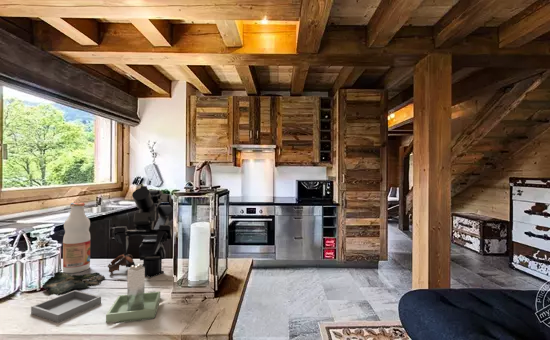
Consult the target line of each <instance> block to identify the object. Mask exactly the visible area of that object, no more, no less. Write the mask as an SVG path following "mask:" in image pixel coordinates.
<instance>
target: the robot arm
mask: <svg viewBox="0 0 550 340" xmlns="http://www.w3.org/2000/svg"><path fill="white" fill-rule="evenodd" d="M132 199H133V200H134V201H133V202H134V204H135V205H136V208H137V209H139V211H138V212H134V216H133V223H134V224H133V228H135V229H128V227H127V226H115V227H114V228H113V230H112V236H113V239H114V240H115V242H117V243H119V244H122V245H121V246H122V252H123V255H124V256H126V255H128V248H129V237H136V236H139V237H140V236H141V237H144V238H143V240H142V241H141V243H140V245H139V247H138V255H139V256H138V257H139V261H142V264H141V265H142V266H144V267H145V277H147V278H153V277H156V276H158V275H162V274H163V273H165V271H164V270H163V269H162V267H163V265H162V261H163V260H164V259H166V250H165V246H164V245H163V244H164V243H165V242H167V241H168V240H171V239H172V235H173V234H172V233H173V231H172V230H173V229H172V226H171V225H170V224H169V222H171V221H172V220H174V219H173V200H174V199H173V198H172V195H171V194H169V193H163V191H162V190H161V189H148V187H147V185H142V186H140V188H137V189H135V190H134V191H133V192H132ZM163 203H165V204H166V205H165V204H164V205H163ZM167 203H168V204H167ZM156 205H157V206H156ZM157 216H158V218H157ZM155 222H156V223H155Z"/></svg>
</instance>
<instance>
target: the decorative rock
mask: <svg viewBox="0 0 550 340" xmlns="http://www.w3.org/2000/svg"><path fill="white" fill-rule="evenodd" d="M53 275H54V276H51V277H49V278H48V279H47V280H46V281H45V283H44V284H42V285H41V286H42V288H43V289H44V290H46V289H47V291H48V293H49V296H52V295H55V296H61V295H62V293H68V292H70V291H71V290H72V289H73V290H76V289H90V288H91V287H96V286H98V285H101V284H102V280H104V279H106V277H105V275H102V274H100V272H94V273H93V272H92V273H85V274H80V275H79V274H77V275H76V274H70V273H65V272H62V271H55V272H54V273H53ZM87 279H88V280H87Z"/></svg>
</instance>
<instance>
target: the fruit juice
mask: <svg viewBox="0 0 550 340" xmlns="http://www.w3.org/2000/svg"><path fill="white" fill-rule="evenodd" d="M70 208H71V209H70V213H69V216H68V217H67V218H66V220H65V221H64V223H63V229H64V235H63V239H62V271H63V273H66V274H74V273H76V274H77V273H81V272H83V271H84V272H85V271H87V270H88V269H90V267H91V232H90V227H91V220H90V218H88V216H87V214H86V213H85V210H84V209H85V202H71V203H70Z"/></svg>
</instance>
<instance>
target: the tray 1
mask: <svg viewBox="0 0 550 340" xmlns="http://www.w3.org/2000/svg"><path fill="white" fill-rule="evenodd" d="M100 304H102V296H101V295H97V294H94V293H93V294H92V293H89V292H84V291H82V290H81V291H80V290H77V289H73V290H72V291H71V290H70V291H68V292H65V293H63V294H60V295H57V296H56V297H53V298H51V299H48V300H45V301H42V302H40V303H37V304H34V305H31V306H30V314H31V315H33V316H37V317H40V318H43V319H46V320H49V321H52V322H54V323H58V324H59V323H60V322H62V321H65V320H68V319H69V318H72V317H74V316H76V315H78V314H80V313H83V312H85V311H87V310H89V309H92V308H94V307H97V306H98V305H100Z"/></svg>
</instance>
